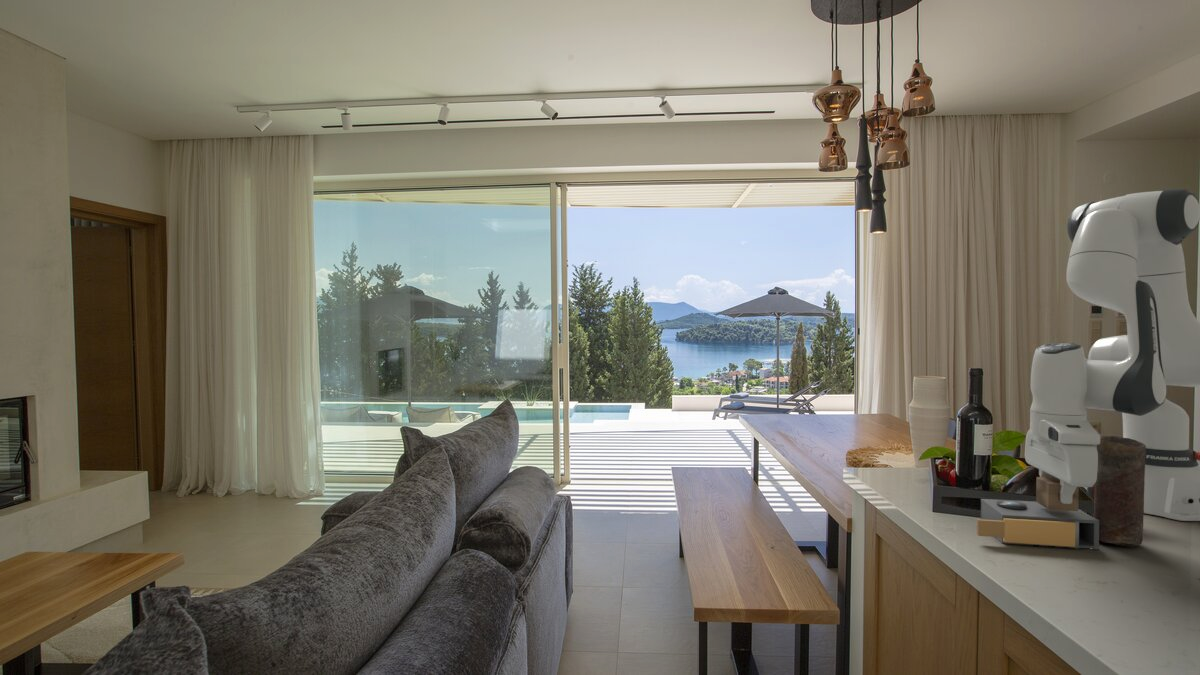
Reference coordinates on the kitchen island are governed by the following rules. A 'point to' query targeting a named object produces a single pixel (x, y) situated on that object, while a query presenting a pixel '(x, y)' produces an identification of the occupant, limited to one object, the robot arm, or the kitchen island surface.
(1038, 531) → the side door
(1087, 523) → the grey box
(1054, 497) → the walnut block
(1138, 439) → the robot arm
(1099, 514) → the candle
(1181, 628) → the kitchen island surface
